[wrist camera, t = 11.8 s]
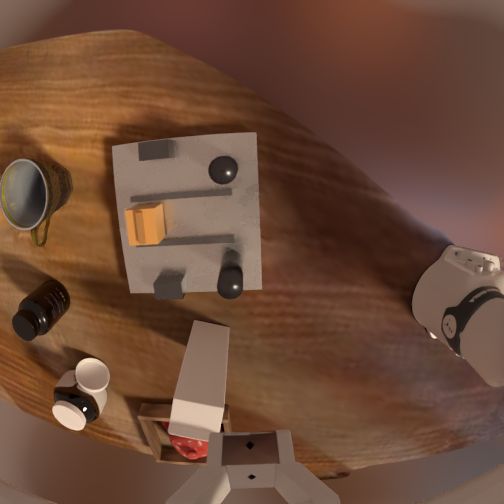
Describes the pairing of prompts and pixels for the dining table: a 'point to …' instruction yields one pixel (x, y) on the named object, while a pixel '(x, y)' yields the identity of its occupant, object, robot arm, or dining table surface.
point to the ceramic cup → (33, 194)
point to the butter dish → (188, 445)
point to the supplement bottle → (41, 310)
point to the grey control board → (193, 213)
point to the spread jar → (81, 394)
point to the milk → (201, 383)
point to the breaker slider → (145, 224)
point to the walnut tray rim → (163, 414)
